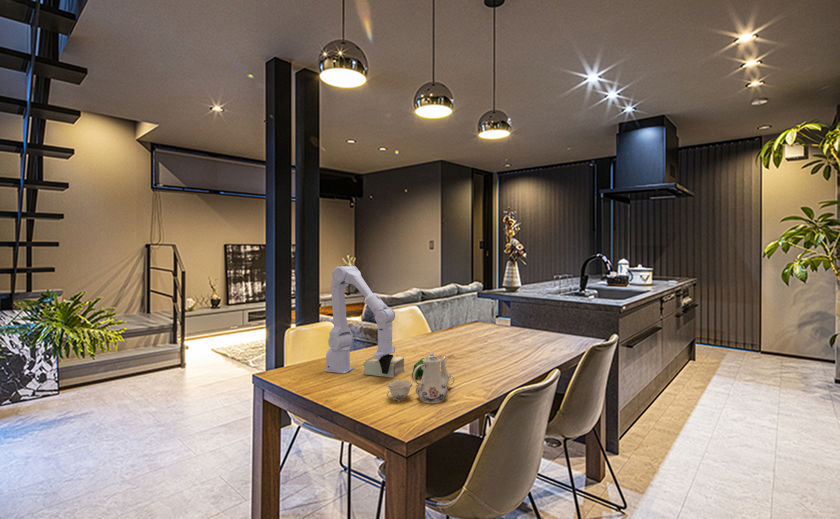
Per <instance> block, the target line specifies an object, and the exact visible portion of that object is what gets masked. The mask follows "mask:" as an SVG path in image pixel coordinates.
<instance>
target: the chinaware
mask: <svg viewBox="0 0 840 519" xmlns="http://www.w3.org/2000/svg"><path fill="white" fill-rule="evenodd" d="M434 354H435V353H434V352H433V351H430V353H429V355H427V356H426V357H423V358H424V359H422V358H421V359H422V361H423V364H421V365H418V366H417V367H416V368H415V370H414V372H413V371H412V373H413V378H412V380H413V382H414V383H415V384H416V388H415V393H416V395H417V396H418V398H419V399H418V400H419V401H420V402H422V403H423V404H432V405H433V404H434V405H435V404H440V403H442V402H444V401H445V397H446V395H447V394H448V392H449V389H448V386H451V385H453V384H454V383H455V377H454V376H453V375H452V373H450V372H449V371H448V369H447V366H446V359H447V356H446V355H443V357H442V358H439V357H438V356H437V355H434ZM421 366H422V367H421ZM423 366H424V367H423ZM419 367H421V369H422V370H423V376H422V377H421V379H420V381H419V382H418V381H417V379H415V374H416V371H417V370H418V368H419ZM451 377H452V378H453V380H452V381H453V382H450V383H449V381H450V379H451ZM386 385H387V387H388V389H389V390H387V392H386V397H387V399H389V400H391V399H392V400H393V401H397V402H399V401H400V402H401V401H405V399H406V397H407V396H408V395H409V393H410V392H411V391H410V390H411V388H412V387H413V383H411V381H410V380H404V381H402V380H400V379H395V380H393V381H392V382H390V381H389V382H387V383H386ZM389 394H390V395H391V397H390V396H389Z"/></svg>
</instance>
